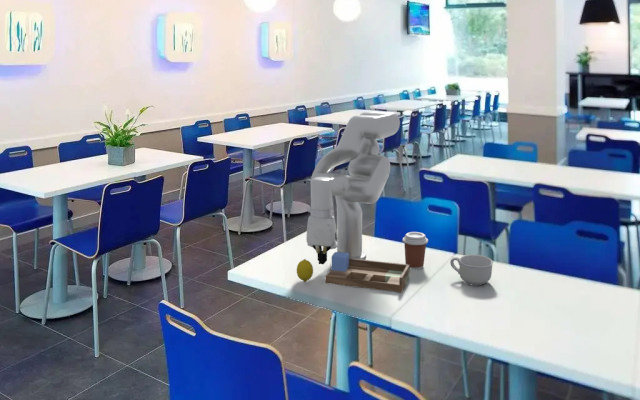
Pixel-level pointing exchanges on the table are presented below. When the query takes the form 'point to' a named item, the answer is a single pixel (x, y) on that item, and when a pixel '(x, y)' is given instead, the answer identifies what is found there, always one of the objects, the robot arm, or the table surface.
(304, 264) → the lemon
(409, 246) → the coffee cup
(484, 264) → the teacup
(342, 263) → the blue block
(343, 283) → the wooden rimmed tray
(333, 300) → the table surface
